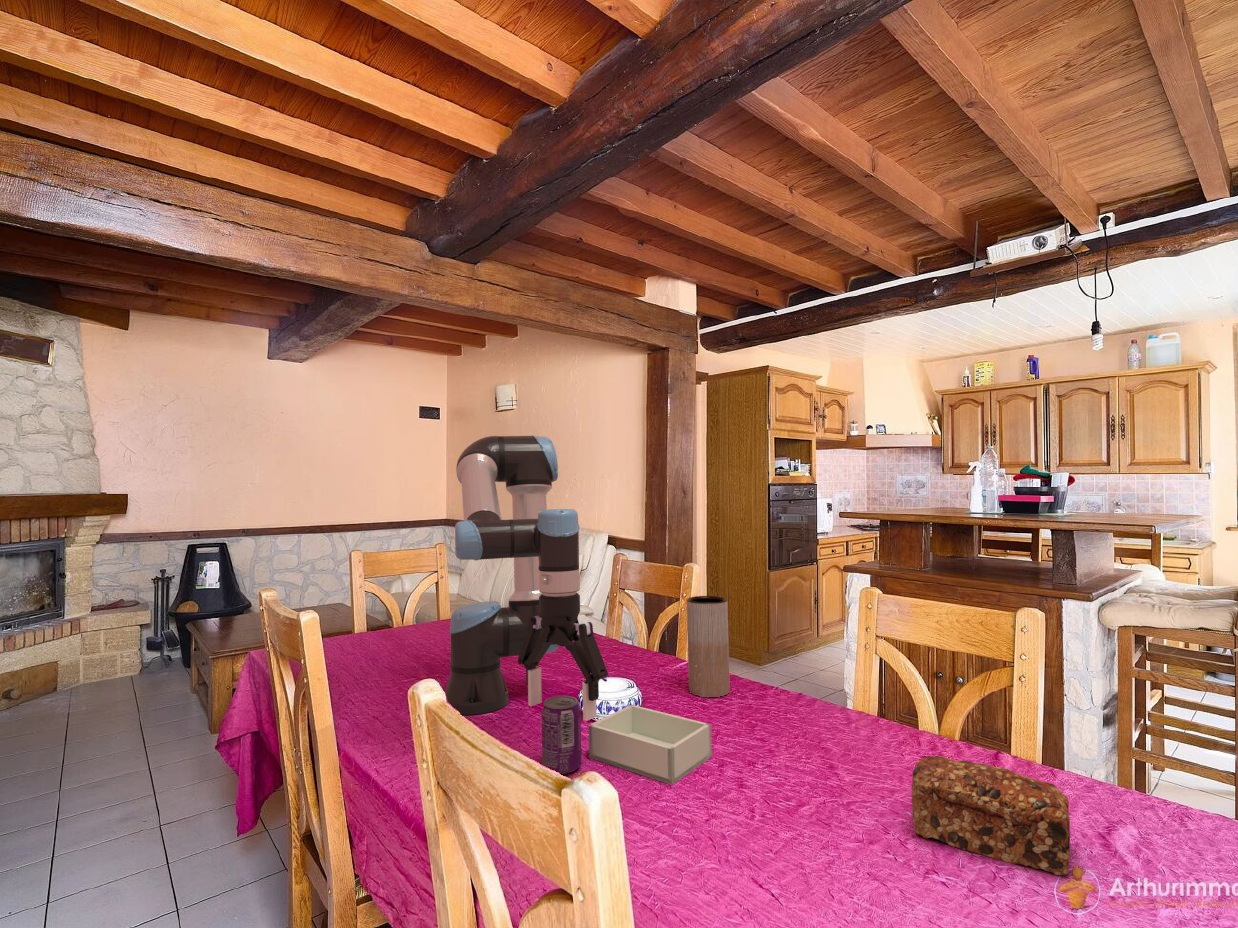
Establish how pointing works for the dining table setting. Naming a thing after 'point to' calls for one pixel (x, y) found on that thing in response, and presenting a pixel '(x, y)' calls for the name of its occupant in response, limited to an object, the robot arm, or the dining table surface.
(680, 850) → the dining table surface
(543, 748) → the beverage can
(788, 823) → the dining table surface
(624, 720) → the tub
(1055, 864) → the bread
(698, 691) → the planter
